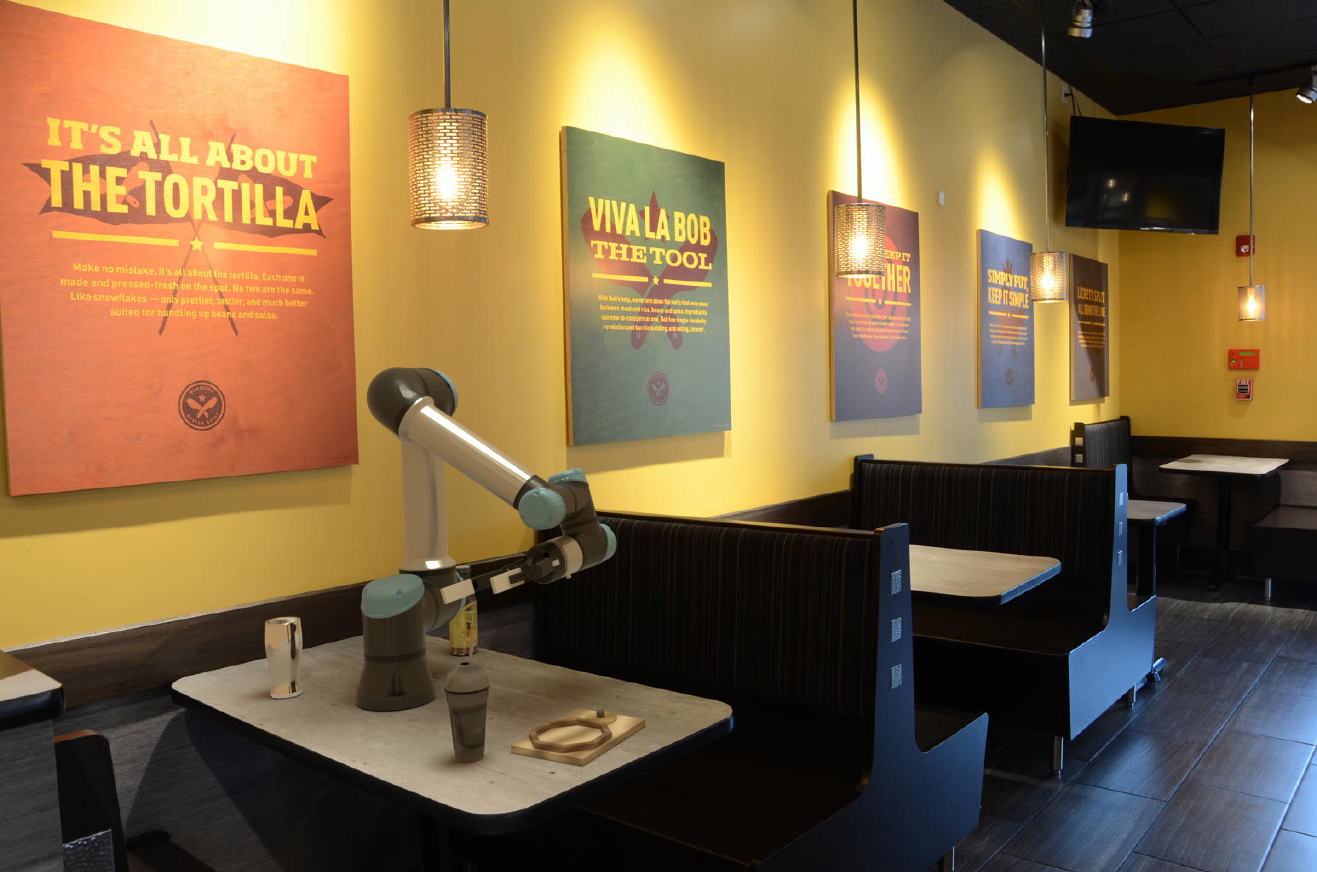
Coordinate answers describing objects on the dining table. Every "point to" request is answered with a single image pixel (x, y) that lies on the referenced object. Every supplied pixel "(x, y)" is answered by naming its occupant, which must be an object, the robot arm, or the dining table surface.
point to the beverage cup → (467, 708)
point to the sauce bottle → (464, 621)
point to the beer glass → (284, 654)
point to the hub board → (578, 736)
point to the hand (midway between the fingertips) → (467, 591)
